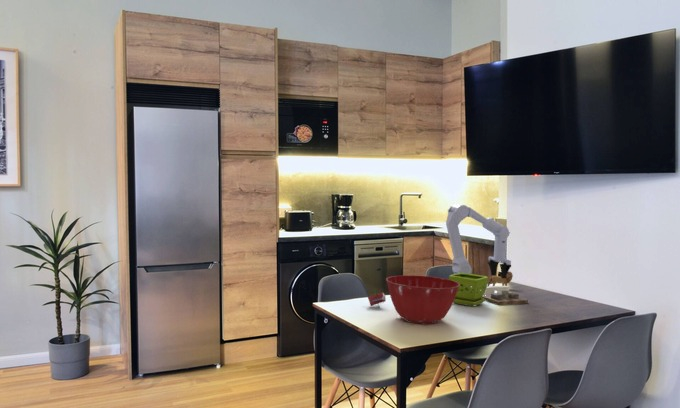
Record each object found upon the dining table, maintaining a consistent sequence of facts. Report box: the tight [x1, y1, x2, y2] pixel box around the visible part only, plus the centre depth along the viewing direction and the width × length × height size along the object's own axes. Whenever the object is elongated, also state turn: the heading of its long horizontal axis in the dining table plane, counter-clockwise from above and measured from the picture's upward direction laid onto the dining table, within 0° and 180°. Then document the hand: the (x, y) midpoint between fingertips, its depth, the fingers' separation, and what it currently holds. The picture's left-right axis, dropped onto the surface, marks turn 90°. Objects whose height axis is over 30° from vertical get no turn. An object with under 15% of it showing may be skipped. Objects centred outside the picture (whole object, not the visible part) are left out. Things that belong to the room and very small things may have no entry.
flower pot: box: [448, 273, 489, 307], centre depth 250 cm, size 14×14×13 cm
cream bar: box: [483, 285, 510, 296], centre depth 273 cm, size 14×3×4 cm, turn 113°
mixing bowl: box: [385, 274, 460, 325], centre depth 216 cm, size 28×28×16 cm
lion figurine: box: [487, 270, 514, 286], centre depth 291 cm, size 15×5×9 cm, turn 103°
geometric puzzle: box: [367, 291, 386, 308], centre depth 236 cm, size 7×7×8 cm
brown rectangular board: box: [482, 290, 529, 306], centre depth 258 cm, size 17×12×5 cm
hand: (498, 277), depth 275 cm, fingers open, 7 cm apart
